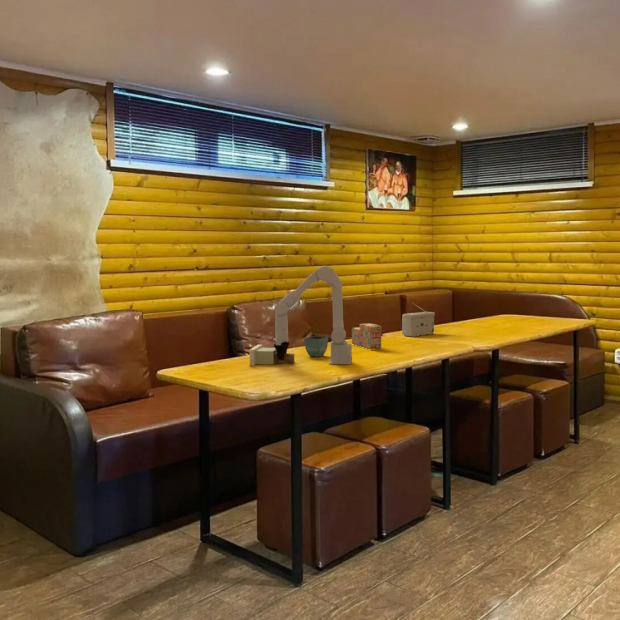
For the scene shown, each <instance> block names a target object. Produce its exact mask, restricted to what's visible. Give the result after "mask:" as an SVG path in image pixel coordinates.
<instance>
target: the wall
mask: <svg viewBox="0 0 620 620" xmlns="http://www.w3.org/2000/svg"><path fill="white" fill-rule="evenodd" d="M260 348H263V344H257V345H255V346H253V347H252V348H250V349H249V366H256V365H257V364H256V350H258V349H260ZM255 364H256V365H255Z"/></svg>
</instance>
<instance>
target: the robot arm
mask: <svg viewBox="0 0 620 620" xmlns="http://www.w3.org/2000/svg"><path fill="white" fill-rule="evenodd" d="M320 281H323V282H324V283H326V284H328V286H330V287H331V299H332V300H331V301H332V303H331V304H332V332H331V335H330V338H331V341H330V361H329V363H328V364H329V365H351V364H352V362H353V354H352V353H353V352H352V350H353V348H352V346H353V345H352V343H347V341H346V337H347V332H346V330H345V327H344V326H345V325H344V309H343V307H344V306H343V304H344V303H343V282H342V280H341V278H340V277H339V276H338V275H337V273H336V272H335V270H334V269H333V268H331V267H330V266H328V265H322V266H319V268H317V270H315V271H313V272H312V273H311V274H309V275H308V276H307V277H306V278H305V279H304V280H303V282H302V283H301V284H300V285H299V286H298V287H297V288H296V289H290V290H288V291H286V295H285V296H284V297H283V298H280V299H279V302H277V303H276V304H275V306H274V308H273V311H274V313H275V315H274V317H275V318H274V324H275V325H274V327H275V328H274V331H275V332H274V334H275V336H274V337H275V338H272V341H275V343H274V344H273V346H274V347H273V348H275V349H276V351H277V355H278V359H279V360H283V359H284V353H288V349H289V345H290V342H289V319H288V312H289V309H292V308H293V307H294V306H295V305H296V304H297V303H298V302H299V301H300V300H301V295H302V294H303V293H304V292H305V291H306V290H308V289H309V287H310V286H311V285H313V283H314V284H315V283H316V282H320Z"/></svg>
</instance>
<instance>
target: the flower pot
mask: <svg viewBox="0 0 620 620" xmlns="http://www.w3.org/2000/svg"><path fill="white" fill-rule="evenodd" d="M303 340H304V348H305V351H306V353H307V355H308V356H309V357H311V356H312V357H313V356H315V357H316V358H319V356H320V357H324V356H325V354H326V352H327V350H328V342H329V336H314V335H313V336H308V337H305V338H303Z"/></svg>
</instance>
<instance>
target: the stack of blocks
mask: <svg viewBox="0 0 620 620" xmlns="http://www.w3.org/2000/svg"><path fill="white" fill-rule="evenodd" d="M352 344H354V345H353V346H355V345H357V346H356V347H358V346H361V347H364V348H363V349H365V348H367V349H366V350H368V349H381V350H382V325H379V324H376V323H359V327H352V328H351V345H352ZM361 347H360V348H361Z"/></svg>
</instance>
